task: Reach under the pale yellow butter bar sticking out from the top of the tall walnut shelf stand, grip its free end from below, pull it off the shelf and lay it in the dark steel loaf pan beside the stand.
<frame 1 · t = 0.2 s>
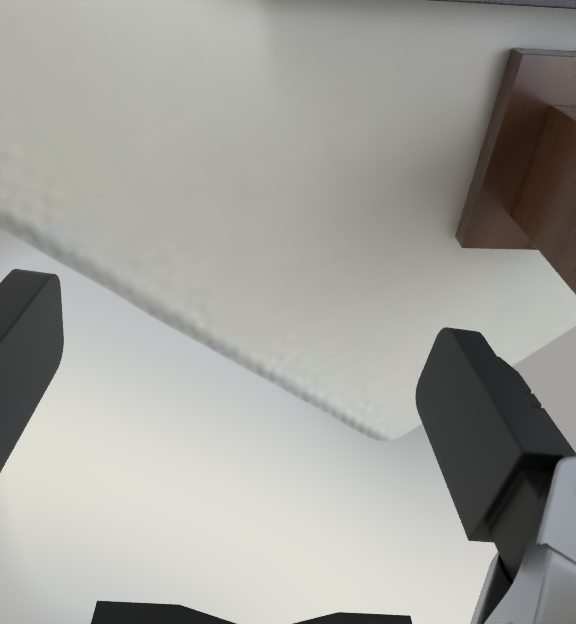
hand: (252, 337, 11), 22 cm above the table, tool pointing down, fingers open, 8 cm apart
shelf stand: (571, 157, 32), on the table
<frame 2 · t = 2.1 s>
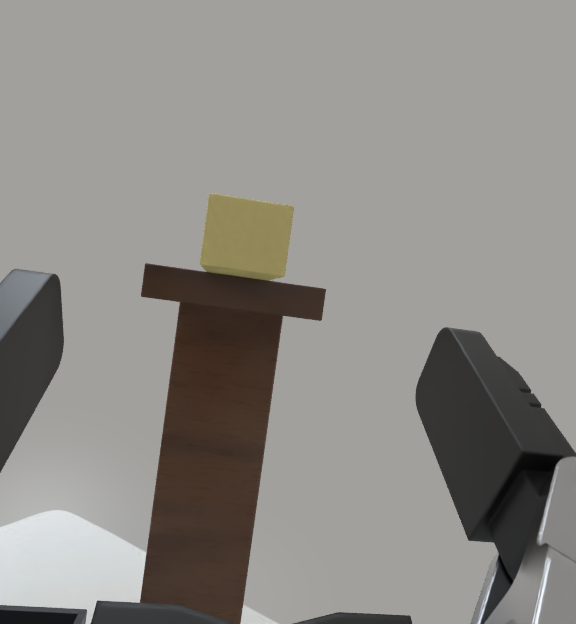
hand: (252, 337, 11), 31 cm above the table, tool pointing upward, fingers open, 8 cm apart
butter: (237, 277, 31), point 33 cm above the table, touching shelf stand
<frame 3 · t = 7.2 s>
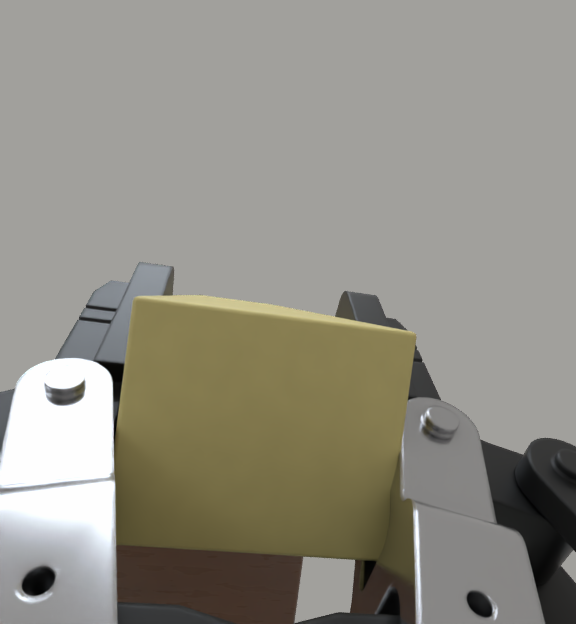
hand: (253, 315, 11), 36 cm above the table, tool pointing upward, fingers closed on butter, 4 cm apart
butter: (232, 401, 16), point 33 cm above the table, touching gripper, shelf stand
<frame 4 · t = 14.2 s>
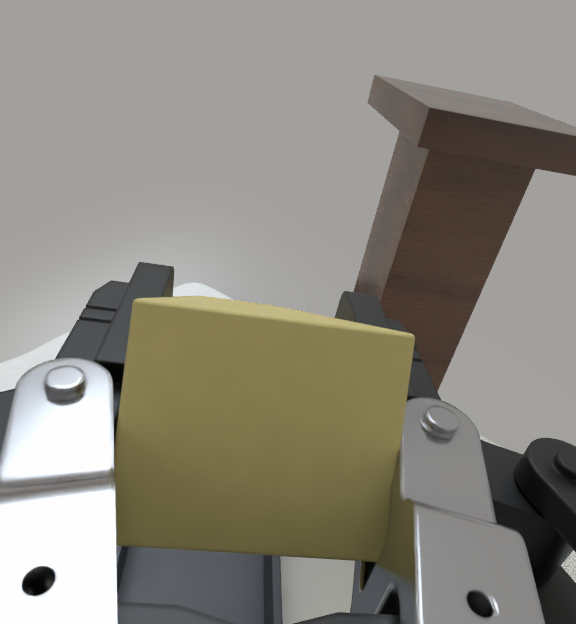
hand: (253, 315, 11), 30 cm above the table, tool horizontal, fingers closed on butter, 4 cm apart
pan: (201, 517, 40), on the table
butter: (232, 402, 16), point 25 cm above the table, tilted 30°, touching gripper
shelf stand: (351, 458, 49), on the table
when the fingers open (10 cm above the table, at t = 21.0 s): butter drops 5 cm, resting on pan.
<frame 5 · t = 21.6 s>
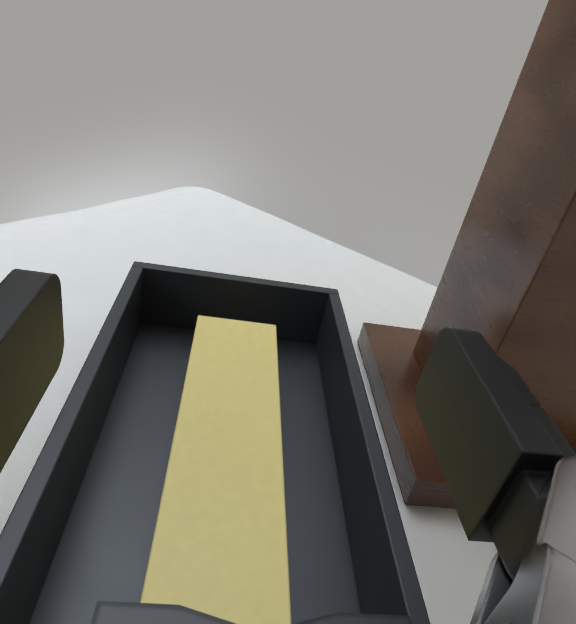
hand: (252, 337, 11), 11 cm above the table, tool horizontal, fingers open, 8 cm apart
pan: (212, 527, 18), on the table
butter: (215, 540, 17), point 1 cm above the table, touching pan
shelf stand: (481, 418, 27), on the table
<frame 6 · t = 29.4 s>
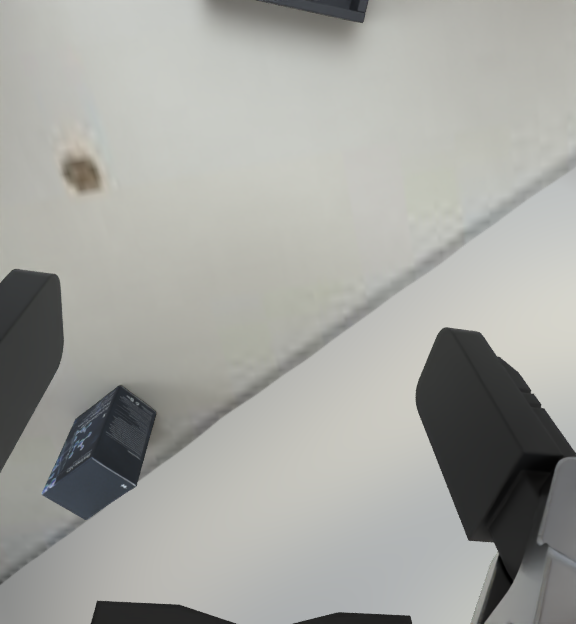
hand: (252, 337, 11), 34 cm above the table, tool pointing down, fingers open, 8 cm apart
box: (116, 413, 57), on the table
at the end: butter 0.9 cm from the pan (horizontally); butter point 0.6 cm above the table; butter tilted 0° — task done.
